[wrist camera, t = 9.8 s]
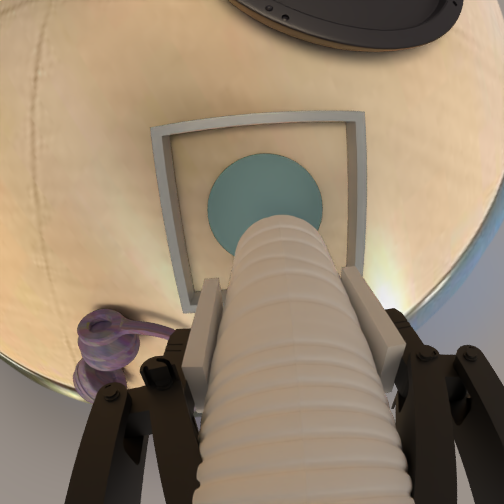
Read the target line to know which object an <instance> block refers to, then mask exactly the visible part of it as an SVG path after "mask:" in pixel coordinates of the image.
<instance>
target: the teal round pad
mask: <svg viewBox="0 0 504 504" xmlns="http://www.w3.org/2000/svg"><path fill="white" fill-rule="evenodd" d="M274 215H290V216H294V217H297V218H300V219H303V220H305V221H306V222H308V223H309V224H311V225H312V226H313V227H314V228H315V229H316V230H317V231H318V229H319V226H320V223H321V218H322V199H321V195H320V191H319V189H318V186H317V184H316V183H315V181H314V179H313V178H312V176H311V175H310V174H309V173H308V172H307V171H306V170H305V169H304V168H303V167H302V166H301V165H299V164H298V163H296V162H295V161H293V160H291V159H289V158H286V157H284V156H280V155H276V154H255V155H251V156H247V157H244V158H242V159H240V160H238V161H236V162H234V163H233V164H231V165H230V166H229V167H228V168H226V169H225V170H224V171H223V172H222V173H221V174H220V176H219V177H218V179H217V180H216V182H215V184H214V185H213V187H212V190H211V193H210V195H209V200H208V219H209V224H210V227H211V230H212V232H213V234H214V236H215V238H216V239H217V241H218V242H219V243H220V245H221V246H222V247H223V248H224V249H225V250H226V251H228V252H229V253H230V254H232V255H233V256H235V251H236V247H237V245H238V242H239V240H240V238H241V236H242V235H243V234H244V233H245V231H246V230H247V229H248V228H249V227H250V226H251V225H252V224H254V223H255V222H257V221H259V220H261V219H263V218H268V217H270V216H274Z"/></svg>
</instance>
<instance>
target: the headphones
mask: <svg viewBox="0 0 504 504" xmlns="http://www.w3.org/2000/svg"><path fill="white" fill-rule="evenodd" d="M174 331H175V330H174V329H172V328H169V327H166V326H162V325H159V324H155V323H150V322H142V321H134V320H129V319H127V318H125V317H123V316H122V314H120V313H119V312H117V311H115V310H111V309H100V310H96V311H93V312H91V313H89V314H88V315H86V316H85V317H84V318H83V319H82V320H81V321H80V323H79V325H78V328H77V333H78V335H79V337H78V346H79V348H80V350H81V354H82V357H83V358H82V359H81V360H80V361H79V362H78V364H77V366H76V369H75V372H74V375H73V382H74V386H75V388H76V390H77V392H78V393H79V394H80V396H81V397H82V398H83V399H85V400H86V401H88V402H90V403H94V400H95V397H96V394H97V392H98V391H99V389H100V388H101V387H102V386H104V385H106V384H108V383H112V382H118V383H122V384H123V385H125V387H126V388H127V382H126V378H125V375H124V373H123V371H122V369H121V368H122V367H124V366H126V365H128V364H129V363H130V362H131V361H132V360H133V359H134V358H135V357H136V355H137V353H138V350H139V346H140V340H139V336H138V334H143V335H150V336H155V337H160V338H164V339H167V340H169V337H170V335H171V334H172V333H173V332H174ZM194 411H196V408H195V407H194Z"/></svg>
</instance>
